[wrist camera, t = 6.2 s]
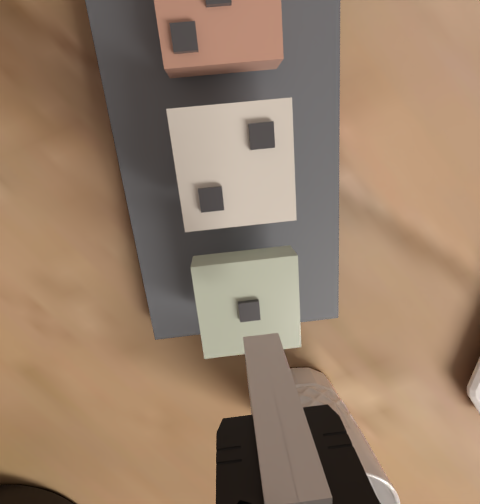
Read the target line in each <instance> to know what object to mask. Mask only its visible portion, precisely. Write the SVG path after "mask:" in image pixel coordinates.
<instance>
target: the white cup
mask: <svg viewBox="0 0 480 504" xmlns="http://www.w3.org/2000/svg"><path fill="white" fill-rule="evenodd" d="M290 370H291V373H292V376H293V379H294V382H295V385H296V389H297V392H298V395H299V398H300V401H301V404H302V407H310V406H318V405H326V404H328V405H329V406H330V407H331V408H332V409H333V410H334V411H335V412H336V413H337V414H338V415H339V416H340V418H341V420H342V422H343V425H344V427H345V429H346V432H347V434H348V435H349V438H350V440H351V442H352V445H353V447H354V449H355V451H356V453H357V455H358V457H359V459H360V462H361V464H362V466H363V468H364V470H365V472H366V475H367V477H368V479H369V481H370V483H371V486H372V488H373V490H374V492H375V494H376V496H377V498H378V500H379V502H380V503H381V504H400V500H399V496H398V494H397V492H396V490H395V488H394V487H393V485H392V483H391V482H390V480H389V478H388V476H387V475H386V473H385V471H384V470H383V468H382V466H381V464H380V463H379V461H378V459H377V457H376V456H375V454H374V452H373V450H372V449H371V447H370V445H369V443H368V442H367V440H366V438H365V436H364V435H363V433H362V431H361V430H360V428H359V427H358V425H357V423H356V422H355V420H354V418H353V417H352V415H351V414H350V412H349V410H348V408H347V407H346V405H345V403H344V402H343V401H342V399H341V398H340V397H339V395H338V393H337V391H336V390H335V388H334V386H333V384H332V383H331V382H330V381H329V380H328V378H327V377H326V376H325V375H324V374H323V373H321V372H319V371H316V370H314V369H311V368H308V367H307V368H291V369H290Z"/></svg>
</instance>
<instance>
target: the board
mask: <svg viewBox="0 0 480 504" xmlns="http://www.w3.org/2000/svg"><path fill="white" fill-rule="evenodd" d="M85 2H86V7H87V12H88V17H89V21H90V26H91V31H92V36H93V41H94V46H95V50H96V55H97V60H98V65H99V70H100V75H101V80H102V84H103V89H104V94H105V99H106V104H107V109H108V113H109V118H110V123H111V128H112V133H113V138H114V142H115V147H116V152H117V157H118V162H119V167H120V172H121V176H122V181H123V186H124V191H125V196H126V201H127V205H128V210H129V215H130V220H131V225H132V230H133V234H134V239H135V244H136V249H137V254H138V259H139V264H140V268H141V273H142V278H143V283H144V288H145V293H146V297H147V302H148V307H149V312H150V317H151V322H152V326H153V331H154V336H155V340H157V339H165V338H174V337H182V336H190V335H199V334H200V327H199V321H198V314H197V308H196V301H195V295H194V288H193V281H192V275H191V268H190V267H191V263H192V258H193V256H197V255H206V254H215V253H224V252H234V251H243V250H252V249H261V248H270V247H279V246H288V245H290V246H291V247H292V249H293V250H294V251H295V252H296V254H297V255H298V271H299V298H300V322H307V321H315V320H323V319H332V318H338V276H339V110H340V0H281V8H282V31H283V54H284V59H283V60H282V62H281V63H280V65H279V66H278V68H277V69H271V70H260V71H249V72H237V73H226V74H215V75H203V76H192V77H181V78H169V76H168V74H167V73H166V71H165V70H164V65H163V58H162V52H161V45H160V38H159V32H158V25H157V18H156V11H155V5H154V0H85ZM290 97H292V109H293V136H294V163H295V190H296V217H297V220H295V221H285V222H276V223H267V224H257V225H248V226H239V227H229V228H220V229H211V230H201V231H192V232H185V229H184V223H183V216H182V209H181V203H180V196H179V190H178V183H177V177H176V170H175V164H174V157H173V151H172V144H171V138H170V131H169V124H168V118H167V111H166V109H171V108H181V107H192V106H203V105H214V104H225V103H236V102H247V101H258V100H269V99H279V98H290Z"/></svg>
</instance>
